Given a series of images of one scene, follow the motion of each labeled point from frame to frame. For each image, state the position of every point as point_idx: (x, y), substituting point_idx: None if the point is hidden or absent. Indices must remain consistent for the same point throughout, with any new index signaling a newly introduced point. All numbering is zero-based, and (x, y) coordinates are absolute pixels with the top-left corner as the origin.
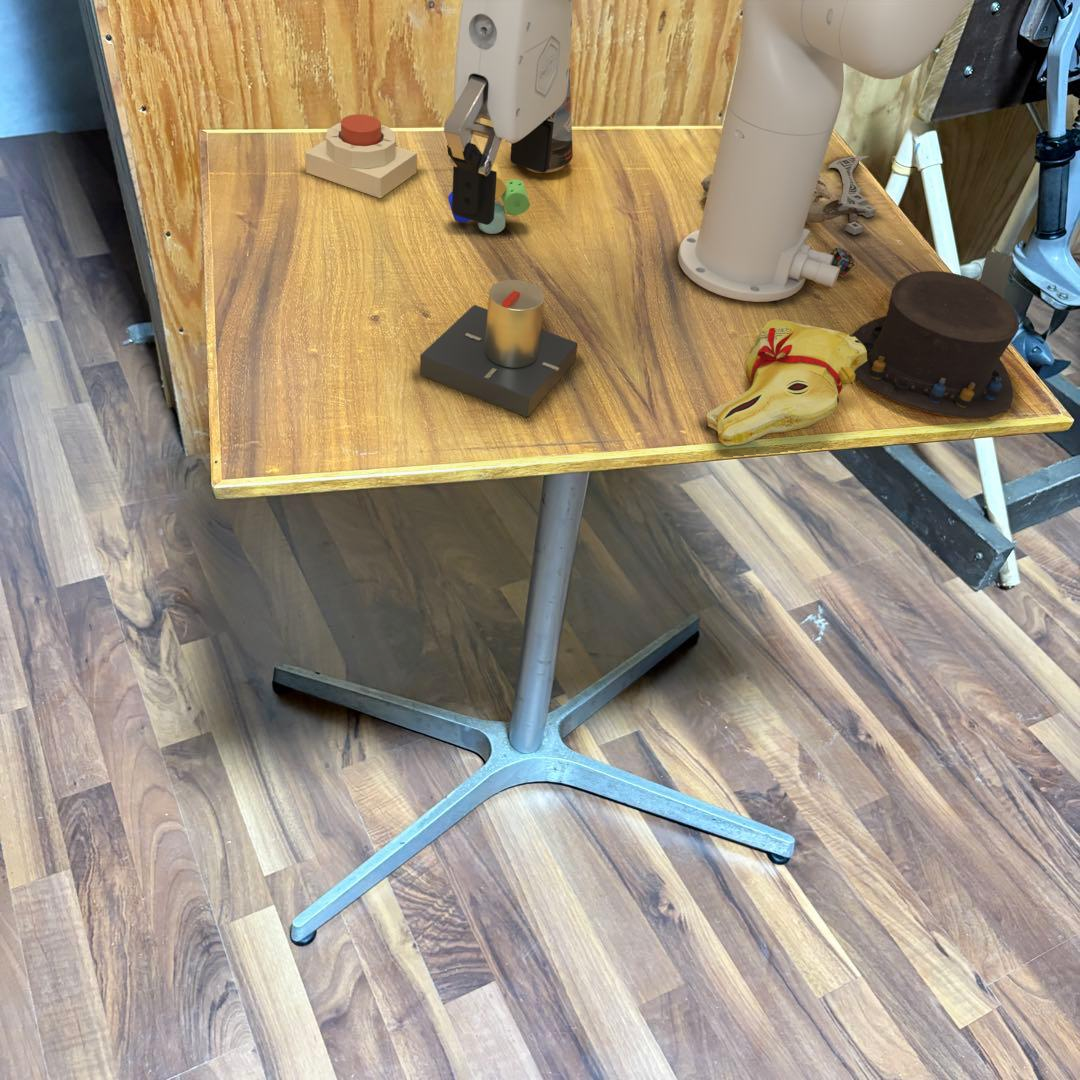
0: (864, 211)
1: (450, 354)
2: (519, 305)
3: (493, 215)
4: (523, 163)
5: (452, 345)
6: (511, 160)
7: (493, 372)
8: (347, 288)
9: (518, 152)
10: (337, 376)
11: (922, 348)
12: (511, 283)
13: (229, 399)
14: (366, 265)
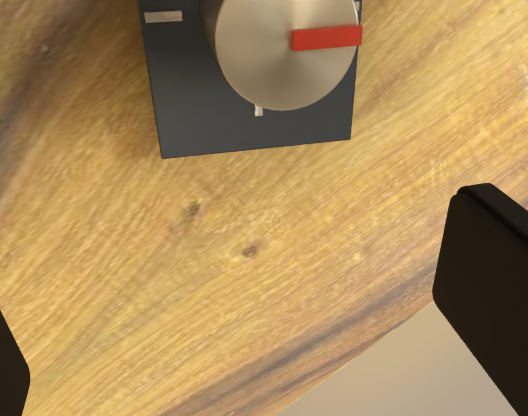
0: None
1: (323, 102)
2: (332, 4)
3: (483, 194)
4: (8, 347)
5: (298, 115)
6: (27, 381)
7: None
8: (212, 314)
9: (10, 399)
10: (392, 204)
11: None
12: (252, 79)
13: None
14: (146, 334)
